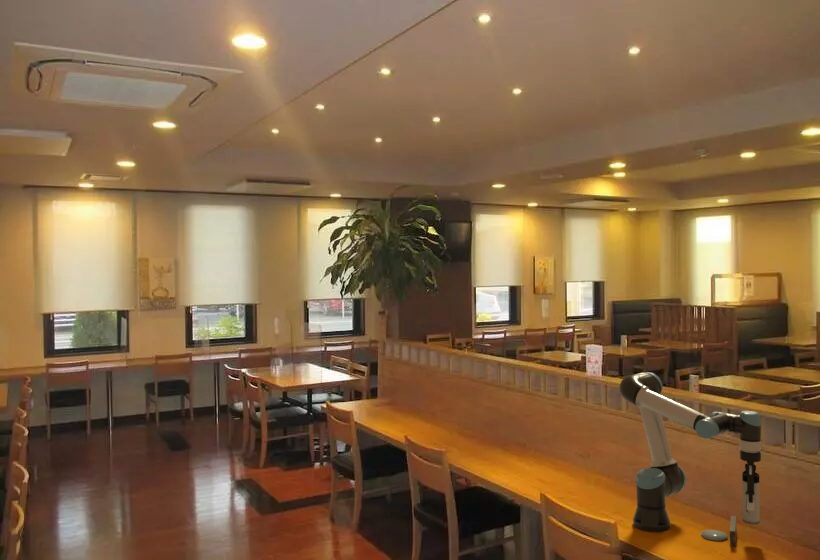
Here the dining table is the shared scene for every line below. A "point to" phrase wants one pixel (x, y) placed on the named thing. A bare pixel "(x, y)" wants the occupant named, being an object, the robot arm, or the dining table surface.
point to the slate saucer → (714, 535)
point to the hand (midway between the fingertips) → (750, 507)
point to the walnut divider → (733, 531)
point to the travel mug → (750, 515)
